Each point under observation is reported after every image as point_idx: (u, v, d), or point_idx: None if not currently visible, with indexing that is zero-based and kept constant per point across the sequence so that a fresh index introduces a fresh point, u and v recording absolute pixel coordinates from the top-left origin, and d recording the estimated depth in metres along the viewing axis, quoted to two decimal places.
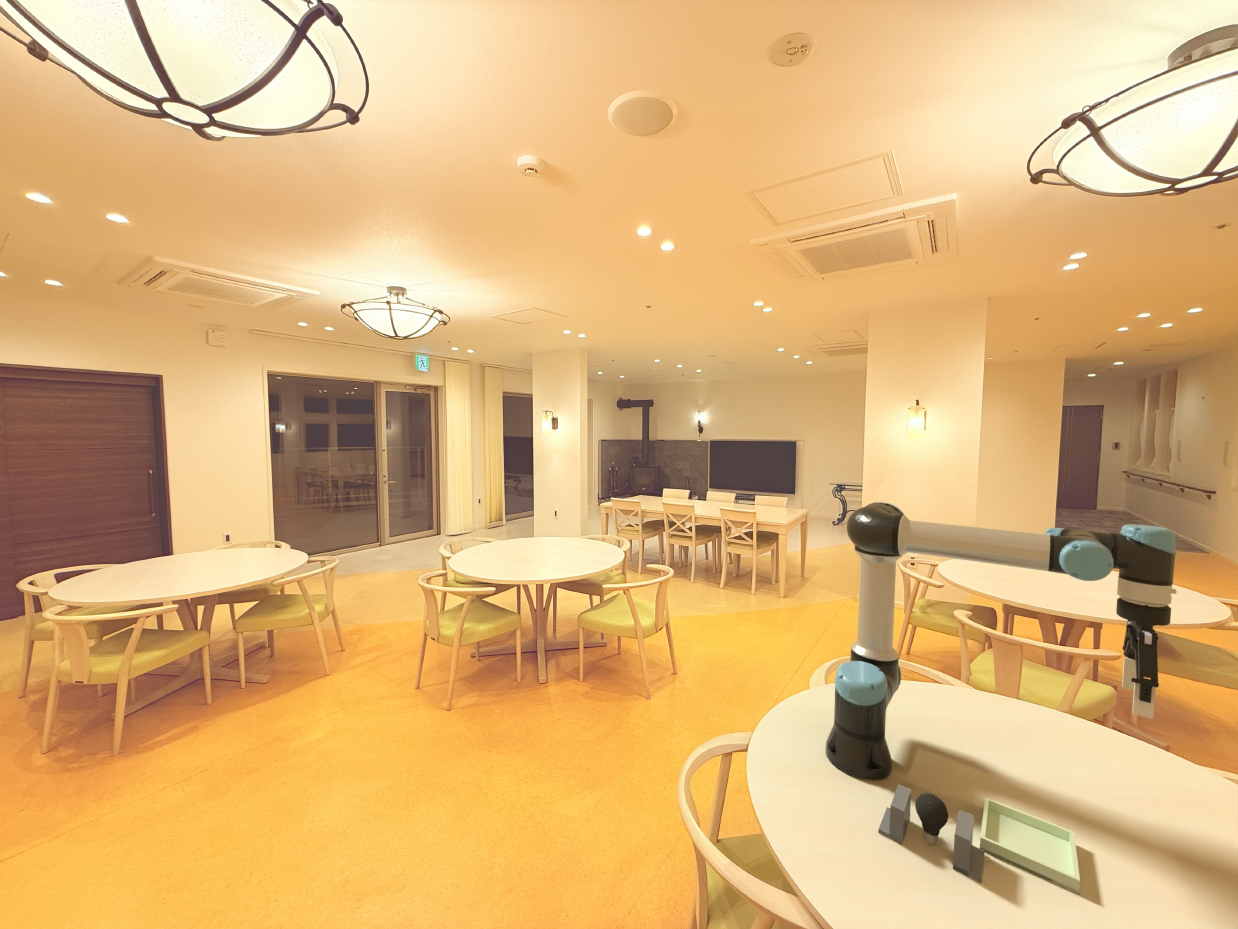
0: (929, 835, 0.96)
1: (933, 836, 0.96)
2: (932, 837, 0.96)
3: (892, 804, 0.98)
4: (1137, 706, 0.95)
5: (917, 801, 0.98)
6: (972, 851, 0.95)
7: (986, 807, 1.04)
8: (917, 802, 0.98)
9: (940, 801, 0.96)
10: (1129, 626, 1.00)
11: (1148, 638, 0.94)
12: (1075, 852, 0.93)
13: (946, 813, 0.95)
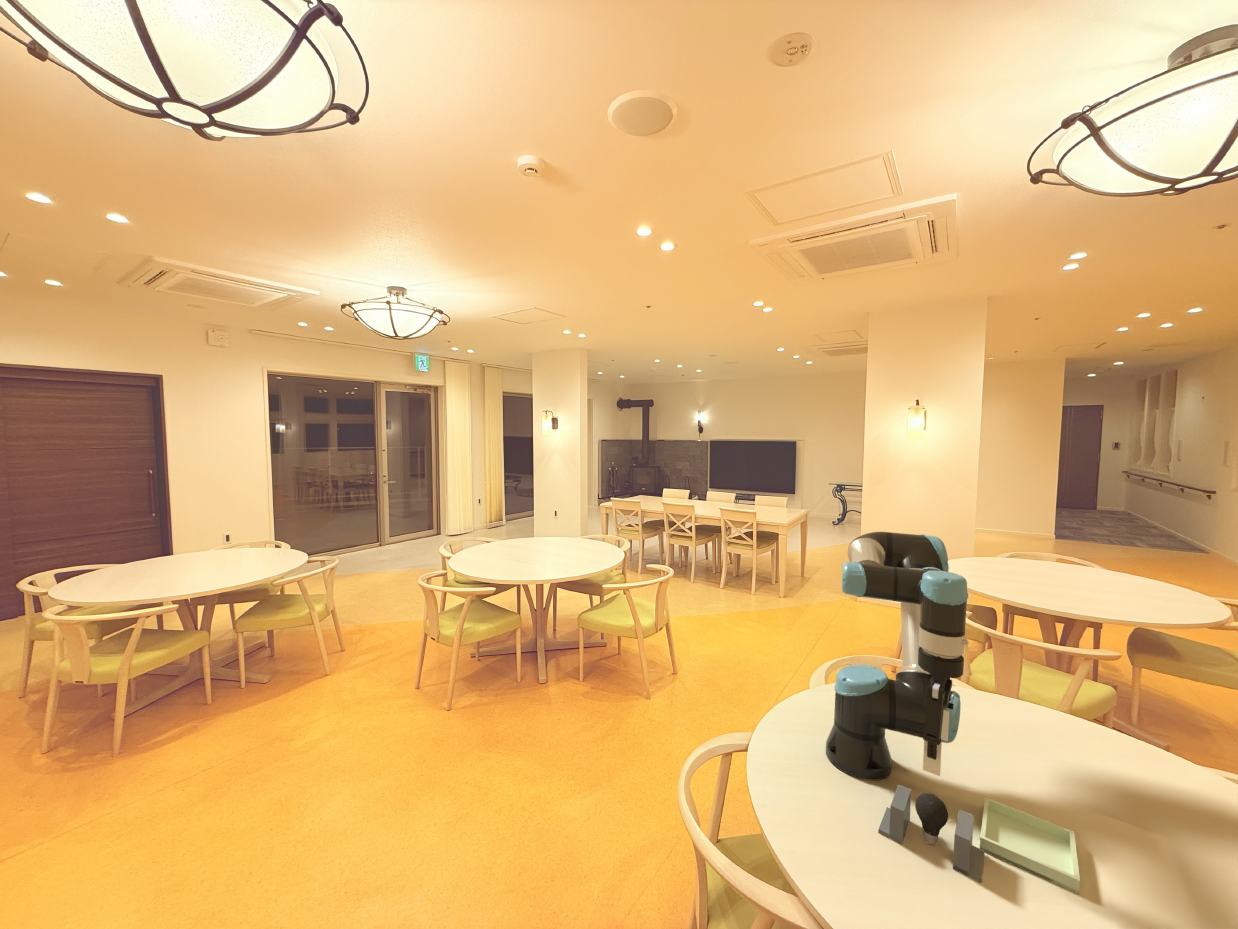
0: (929, 835, 0.96)
1: (933, 836, 0.96)
2: (932, 837, 0.96)
3: (892, 804, 0.98)
4: (926, 762, 0.91)
5: (917, 801, 0.98)
6: (972, 851, 0.95)
7: (986, 807, 1.04)
8: (917, 802, 0.98)
9: (940, 801, 0.96)
10: (930, 676, 0.97)
11: (935, 692, 0.90)
12: (1075, 852, 0.93)
13: (946, 813, 0.95)
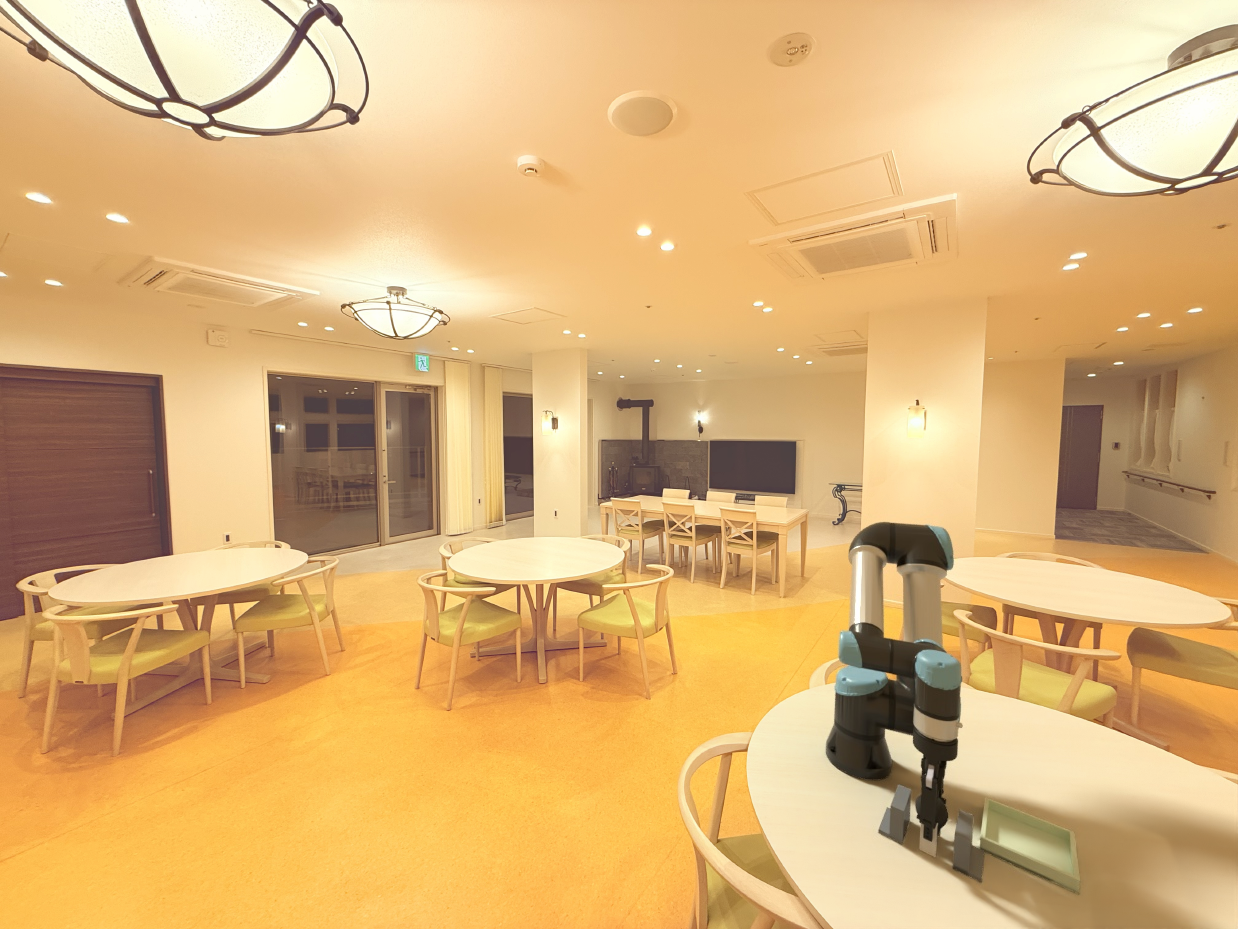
0: None
1: None
2: None
3: (892, 804, 0.98)
4: (922, 842, 0.95)
5: (917, 801, 0.98)
6: (972, 851, 0.95)
7: (986, 807, 1.04)
8: (917, 802, 0.98)
9: (940, 801, 0.96)
10: None
11: (928, 783, 0.91)
12: (1075, 852, 0.93)
13: (946, 813, 0.95)
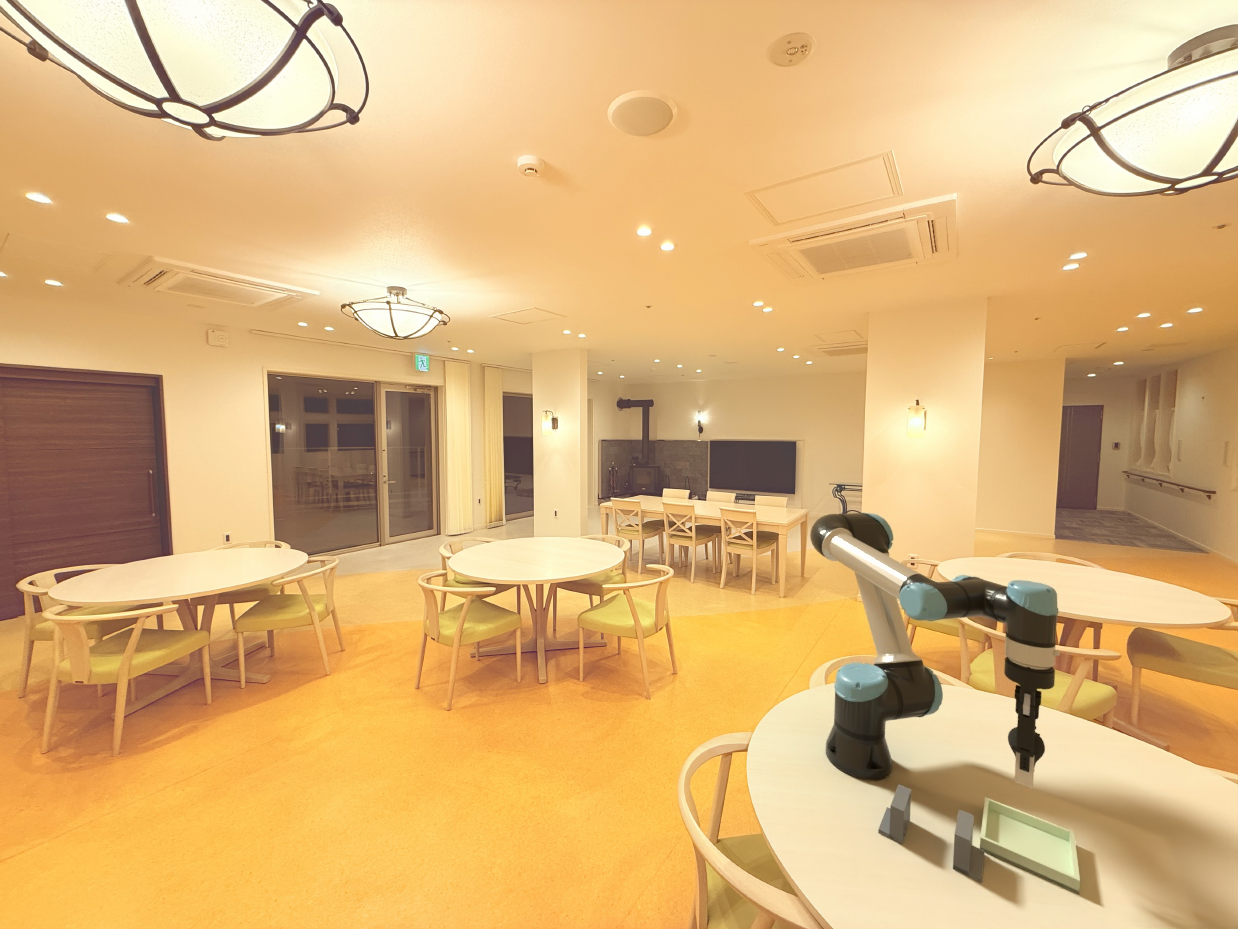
0: None
1: None
2: None
3: (892, 804, 0.98)
4: (1018, 774, 0.93)
5: (1010, 734, 0.96)
6: (972, 851, 0.95)
7: (986, 807, 1.04)
8: (1010, 735, 0.96)
9: (1035, 733, 0.94)
10: (1017, 686, 0.97)
11: (1026, 710, 0.90)
12: (1075, 852, 0.93)
13: (1043, 744, 0.93)
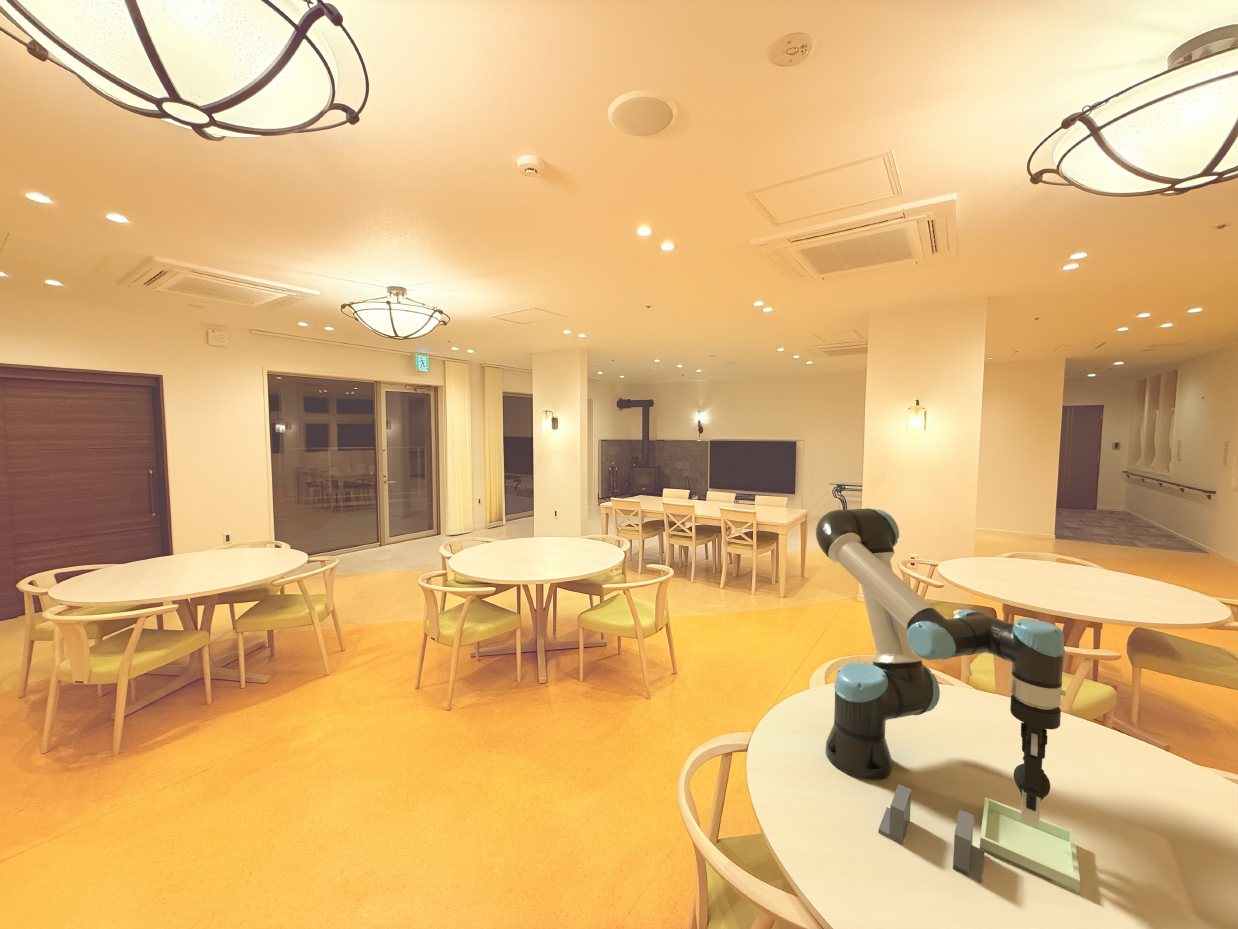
0: None
1: None
2: None
3: (892, 804, 0.98)
4: (1024, 813, 0.94)
5: (1016, 772, 0.97)
6: (972, 851, 0.95)
7: (986, 807, 1.04)
8: (1016, 772, 0.97)
9: None
10: (1023, 723, 0.97)
11: (1034, 751, 0.91)
12: (1075, 852, 0.93)
13: (1048, 783, 0.94)
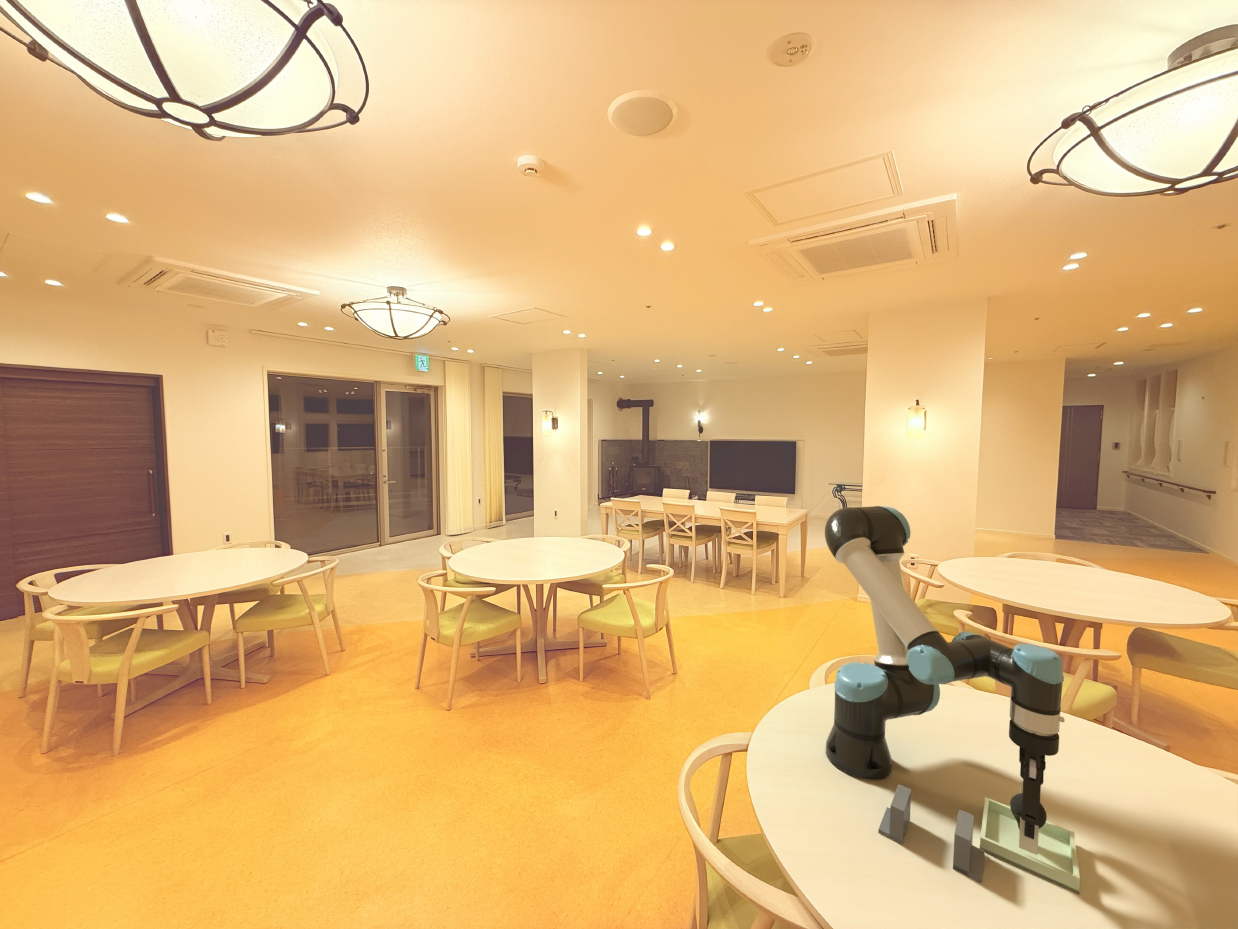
0: None
1: None
2: None
3: (892, 804, 0.98)
4: (1022, 840, 0.92)
5: (1012, 802, 0.97)
6: (972, 851, 0.95)
7: (986, 807, 1.04)
8: (1013, 803, 0.97)
9: None
10: (1021, 749, 0.98)
11: (1032, 772, 0.91)
12: (1075, 852, 0.93)
13: (1045, 813, 0.94)
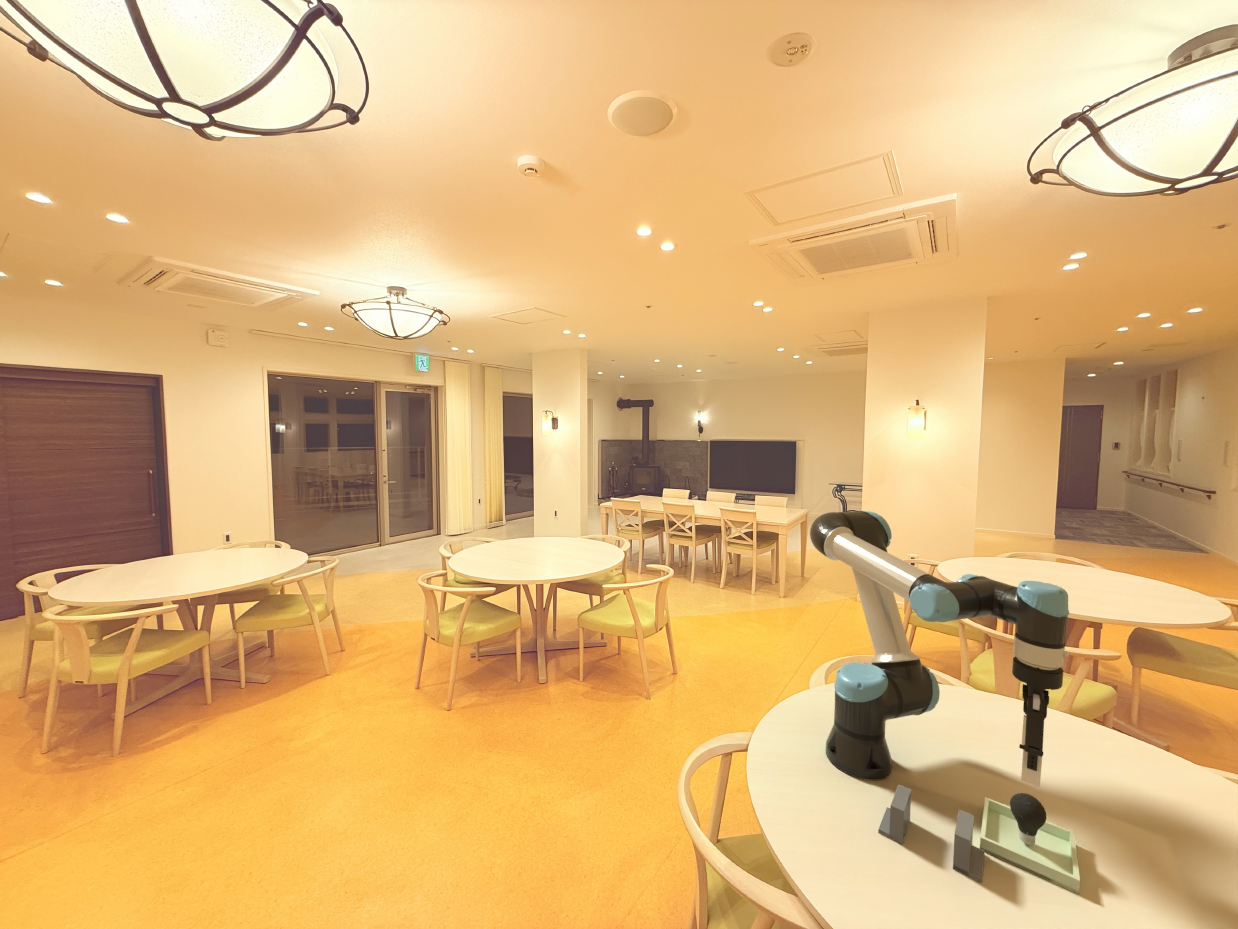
0: (1026, 836, 0.96)
1: (1031, 836, 0.95)
2: (1030, 837, 0.95)
3: (892, 804, 0.98)
4: (1025, 773, 0.91)
5: (1012, 801, 0.97)
6: (972, 851, 0.95)
7: (986, 807, 1.04)
8: (1012, 802, 0.97)
9: (1037, 801, 0.95)
10: (1025, 686, 0.97)
11: (1036, 703, 0.90)
12: (1075, 852, 0.93)
13: (1044, 813, 0.94)
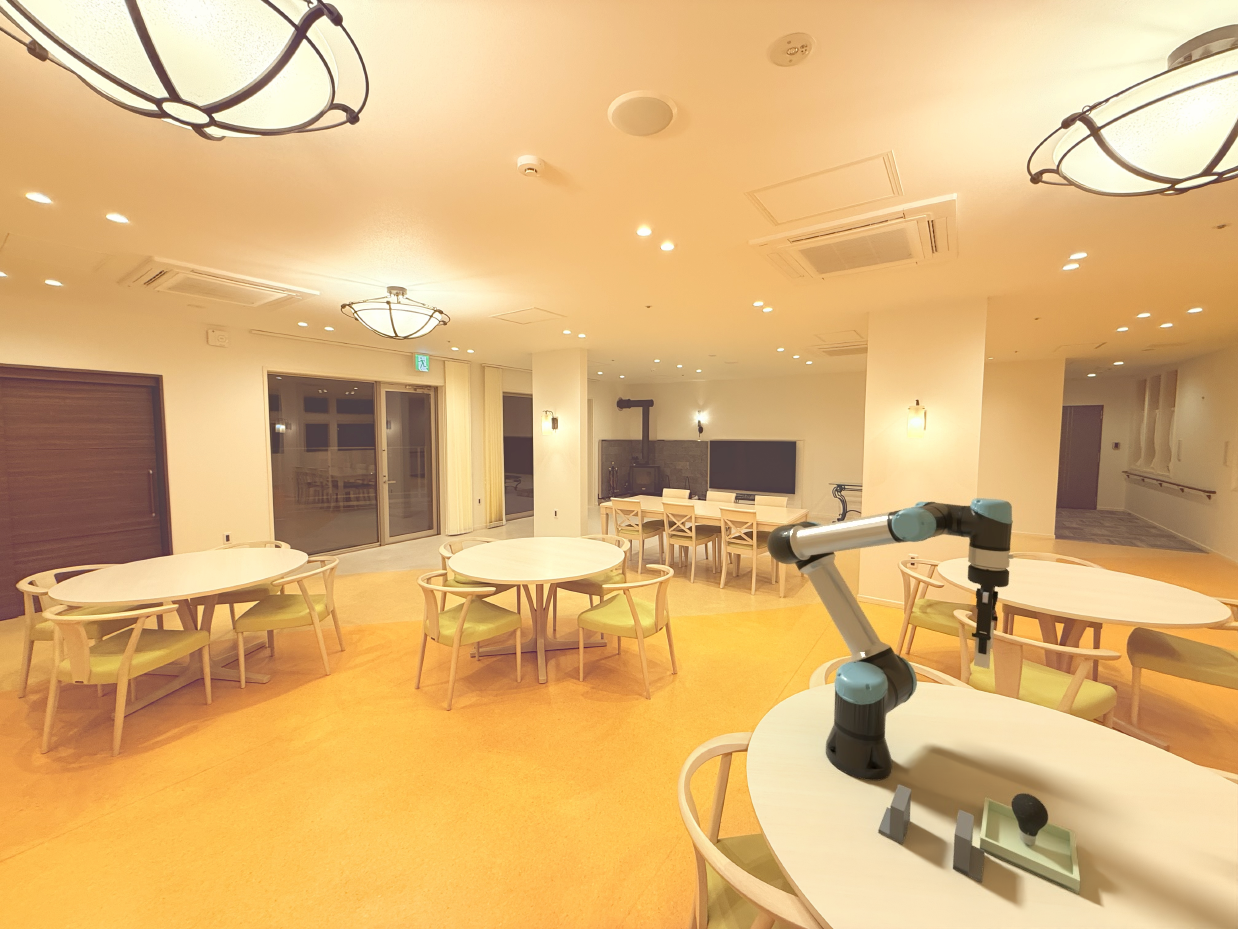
0: (1027, 836, 0.96)
1: (1031, 836, 0.95)
2: (1030, 837, 0.95)
3: (892, 804, 0.98)
4: (977, 658, 1.07)
5: (1014, 801, 0.97)
6: (972, 851, 0.95)
7: (986, 807, 1.04)
8: (1014, 802, 0.97)
9: (1039, 802, 0.95)
10: (978, 589, 1.13)
11: (985, 597, 1.06)
12: (1075, 852, 0.93)
13: (1046, 814, 0.94)
